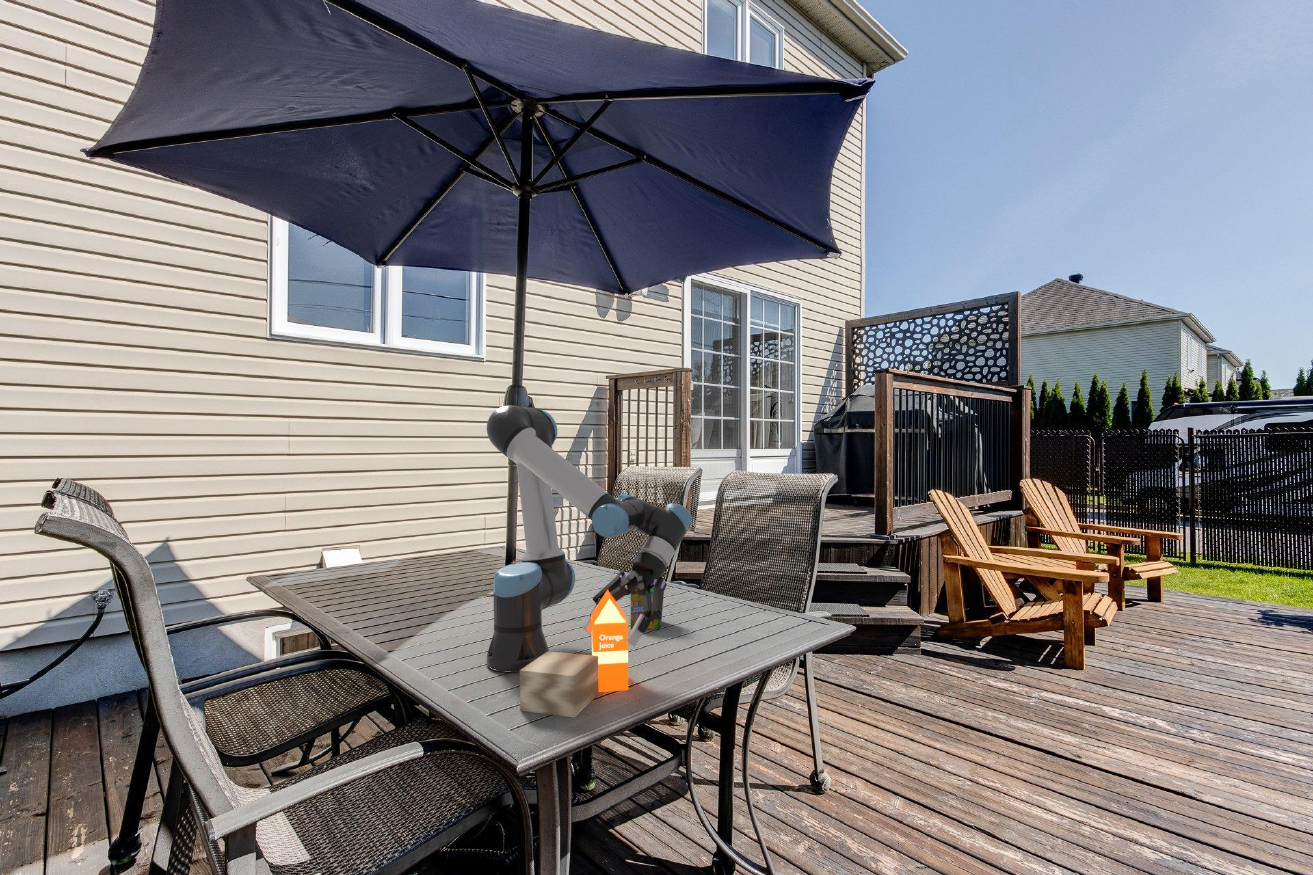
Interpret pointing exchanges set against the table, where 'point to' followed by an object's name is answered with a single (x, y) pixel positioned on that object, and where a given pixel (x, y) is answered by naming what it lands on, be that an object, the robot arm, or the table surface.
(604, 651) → the orange juice
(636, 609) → the chalk box
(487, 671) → the table surface
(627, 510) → the robot arm
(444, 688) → the table surface
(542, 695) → the birch block
